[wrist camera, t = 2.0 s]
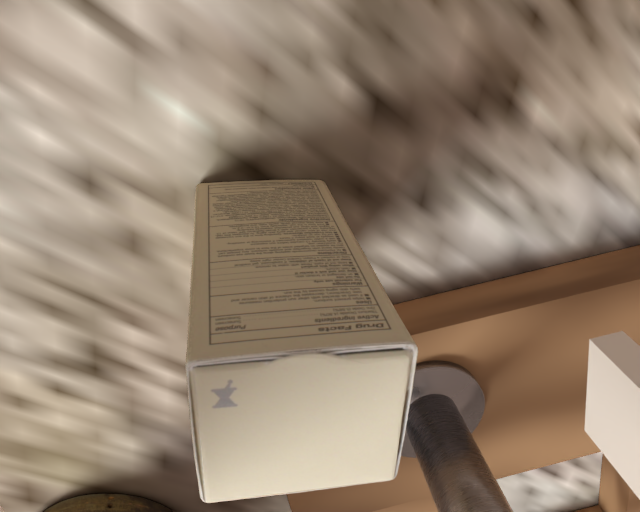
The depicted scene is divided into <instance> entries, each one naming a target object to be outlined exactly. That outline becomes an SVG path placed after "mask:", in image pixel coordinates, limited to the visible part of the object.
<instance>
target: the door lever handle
mask: <svg viewBox="0 0 640 512" xmlns="http://www.w3.org/2000/svg"><path fill="white" fill-rule="evenodd" d="M484 408H485V398H484V394H483V391H482V389H481V387H480V385H479V384H478V382H477V381H476V379H475V377H474V376H473V375H472V374H471V372H469V371H468V370H467V369H466V368H464V367H463V366H461V365H459V364H456V363H453V362H449V361H442V360H433V361H425V362H420V363H417V364H416V369H415V376H414V383H413V390H412V395H411V401H410V407H409V412H408V420H407V425H406V432H405V437H404V441H403V447H402V453H401V456H404V457H411V458H417V460H418V462H419V465H420V467H421V470H422V472H423V475H424V477H425V480H426V482H427V485H428V487H429V490H430V492H431V495H432V497H433V500H434V502H435V505H436V507H437V510H438V512H513V511H512V509H511V507H510V505H509V503H508V502H507V500H506V498H505V496H504V494H503V492H502V490H501V489H500V487H499V485H498V483H497V481H496V479H495V477H494V475H493V474H492V472H491V470H490V468H489V466H488V464H487V462H486V461H485V459H484V457H483V455H482V453H481V451H480V449H479V448H478V446H477V444H476V442H475V440H474V438H473V436H472V435H471V434H472V432H473V431H474V430H475V429H476V427H477V426H478V424H479V422H480V421H481V419H482V416H483V413H484Z"/></svg>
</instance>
